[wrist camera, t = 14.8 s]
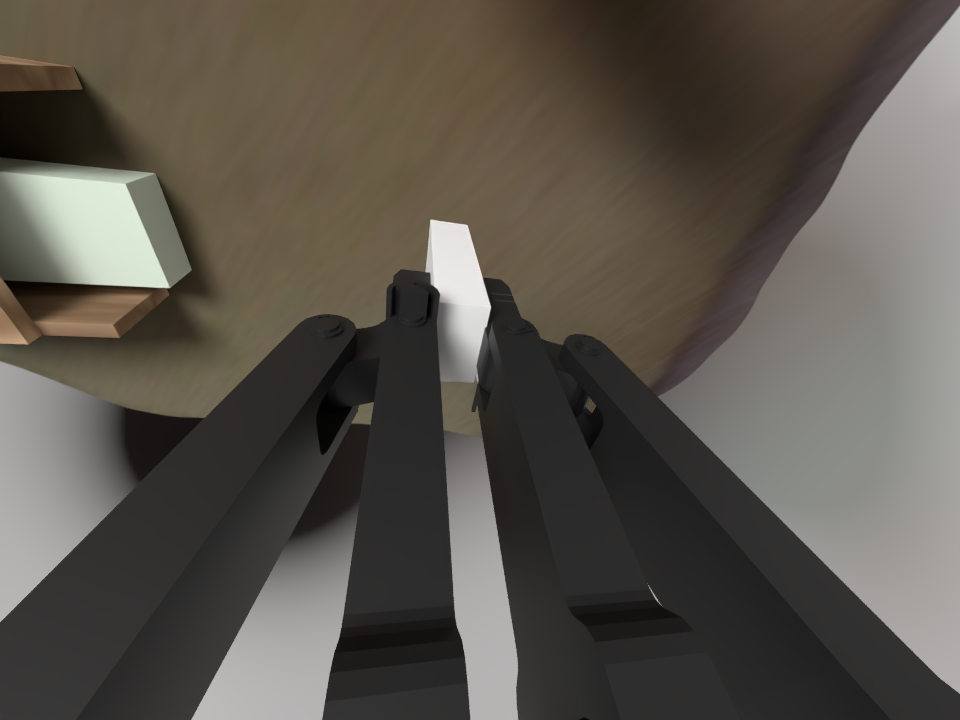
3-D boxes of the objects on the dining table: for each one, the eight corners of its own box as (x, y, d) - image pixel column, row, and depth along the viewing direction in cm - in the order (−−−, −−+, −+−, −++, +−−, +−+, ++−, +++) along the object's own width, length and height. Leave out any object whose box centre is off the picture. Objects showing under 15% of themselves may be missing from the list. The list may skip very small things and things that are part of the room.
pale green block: (-107, 145, 31) (-192, 155, 27) (157, 172, 35) (120, 185, 31) (-24, 255, 37) (-83, 279, 33) (193, 268, 41) (166, 290, 36)
